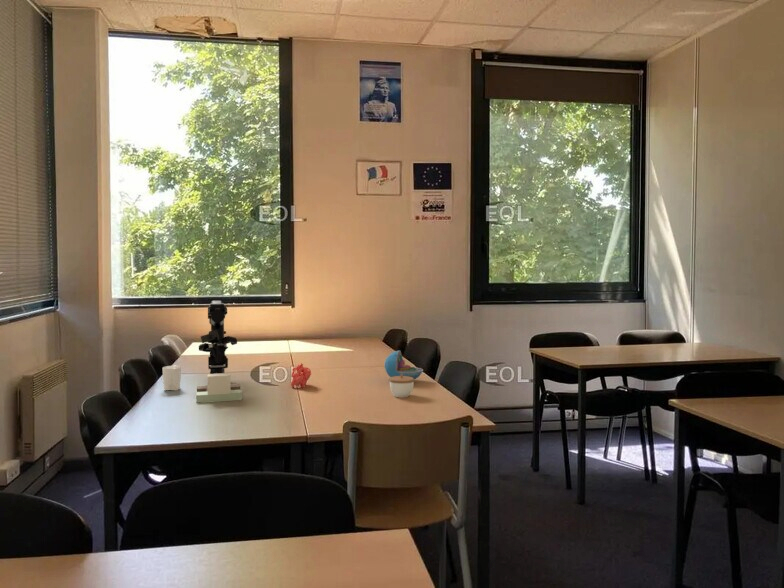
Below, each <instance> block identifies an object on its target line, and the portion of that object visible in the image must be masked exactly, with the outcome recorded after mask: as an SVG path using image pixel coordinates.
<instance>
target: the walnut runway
mask: <svg viewBox="0 0 784 588" xmlns="http://www.w3.org/2000/svg"><path fill="white" fill-rule="evenodd" d="M230 390H241V385H240V383H230ZM206 391H208V384H207V385H196V393H197V392H206Z"/></svg>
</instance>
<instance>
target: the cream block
mask: <svg viewBox="0 0 784 588" xmlns="http://www.w3.org/2000/svg"><path fill="white" fill-rule="evenodd" d="M230 384H231V373H230V372H224V373H219V374H210V373H207V385H208V395H210V394H228V393H231V390H230Z"/></svg>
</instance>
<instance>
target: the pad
mask: <svg viewBox="0 0 784 588" xmlns="http://www.w3.org/2000/svg"><path fill="white" fill-rule="evenodd" d="M195 396H196V398H195V399H196V400H195V401H196V403H197V402H200V403H212V402H215V403H216V402H230V401H242V400H243V392H242V389H240V390H231V393H228V394H210V395H208V391H206V392H197V391H196V395H195Z"/></svg>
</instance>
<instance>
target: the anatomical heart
mask: <svg viewBox="0 0 784 588" xmlns="http://www.w3.org/2000/svg"><path fill="white" fill-rule="evenodd" d="M311 375H312V371H311V369H310V368H309V367H306V366H304V363H302V362H301V363H300V364H297V365H296V366H295V367H292V372H291V375H290V376H291V377H292V379H291V382H290V386H291V388H294V387H298V388H300V386H301V387H302V388H305V386H306V385H307V382H308V381H309V379H310V377H311Z"/></svg>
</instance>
